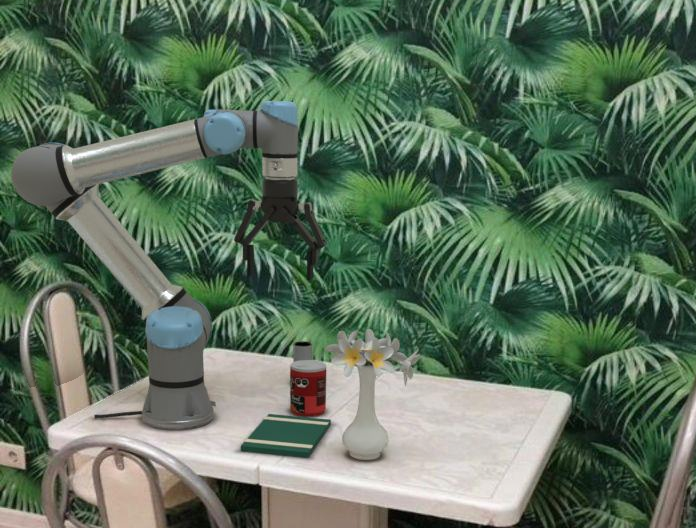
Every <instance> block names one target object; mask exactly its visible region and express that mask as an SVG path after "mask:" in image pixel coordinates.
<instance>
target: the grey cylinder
mask: <svg viewBox="0 0 696 528" xmlns="http://www.w3.org/2000/svg"><path fill="white" fill-rule="evenodd" d="M292 345H293V349H292V352H293V353H292V355H293V356H292V359H293V360H292V363H293V362H295V361H300V360H313V343H312V342H310V341H295V342H293V344H292Z"/></svg>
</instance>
